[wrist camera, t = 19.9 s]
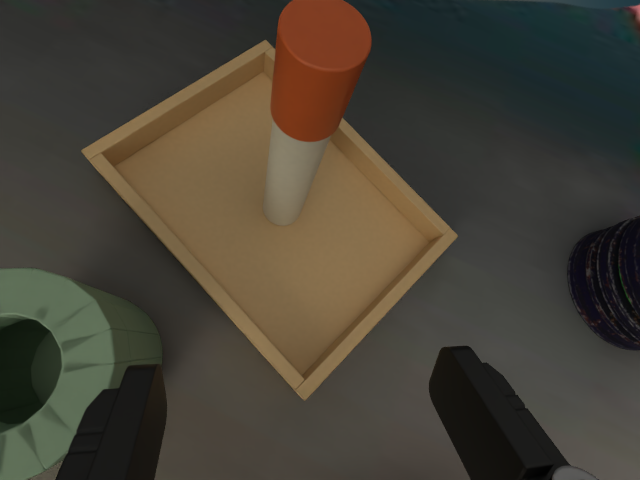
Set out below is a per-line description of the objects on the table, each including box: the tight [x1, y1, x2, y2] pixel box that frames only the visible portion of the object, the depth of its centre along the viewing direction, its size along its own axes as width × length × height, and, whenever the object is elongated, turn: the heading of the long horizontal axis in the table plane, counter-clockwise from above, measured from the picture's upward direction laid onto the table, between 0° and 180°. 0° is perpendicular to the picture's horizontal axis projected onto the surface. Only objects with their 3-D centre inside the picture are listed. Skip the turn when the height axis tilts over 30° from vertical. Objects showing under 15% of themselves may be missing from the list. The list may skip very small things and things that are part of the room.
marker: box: [263, 0, 371, 226], centre depth 18 cm, size 3×3×15 cm
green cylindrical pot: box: [0, 268, 163, 480], centre depth 17 cm, size 8×8×8 cm
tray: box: [81, 40, 458, 401], centre depth 24 cm, size 20×15×3 cm
